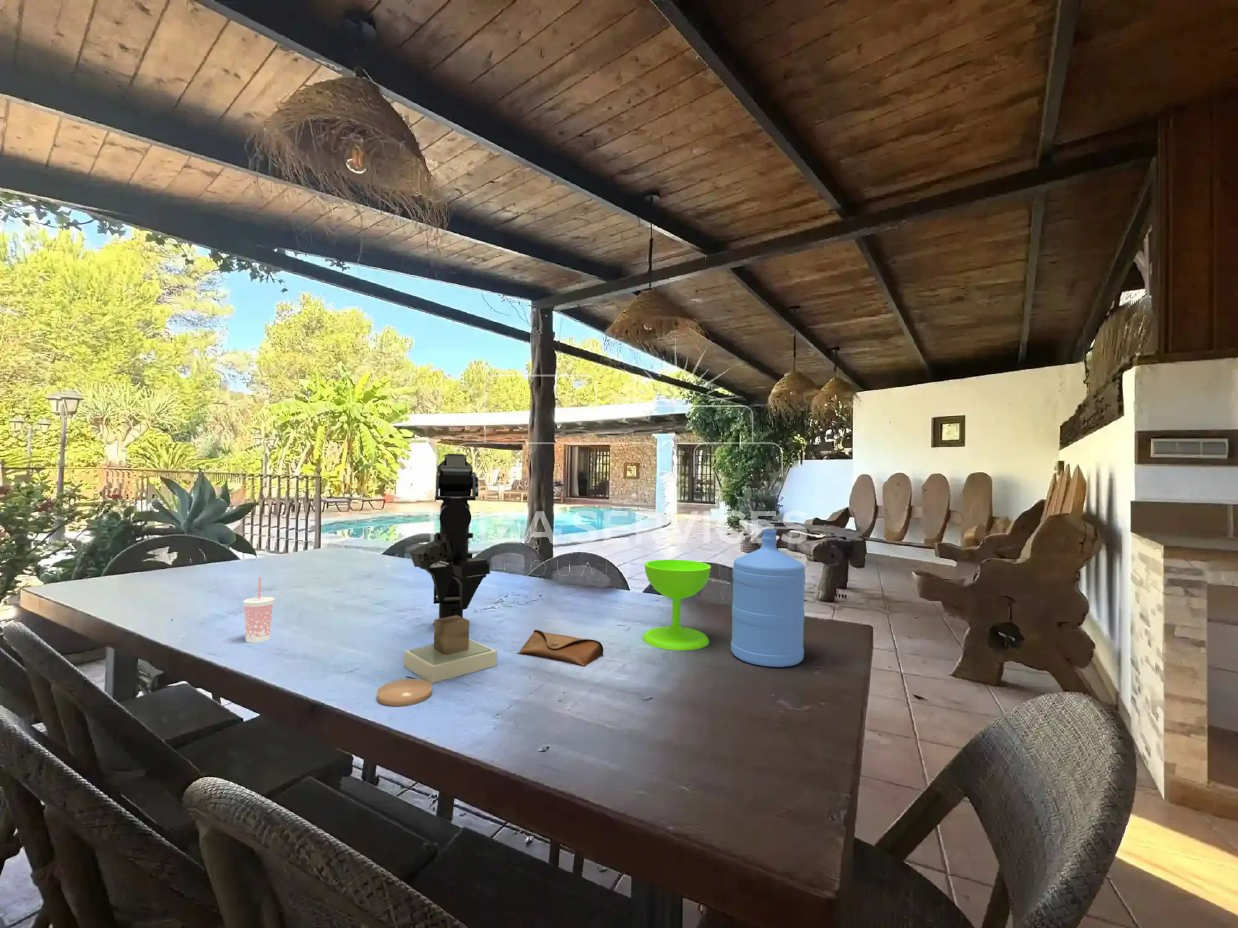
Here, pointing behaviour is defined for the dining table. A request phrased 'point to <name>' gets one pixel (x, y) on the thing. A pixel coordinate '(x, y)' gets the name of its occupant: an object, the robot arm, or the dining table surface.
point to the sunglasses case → (562, 648)
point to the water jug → (768, 606)
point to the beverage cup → (258, 617)
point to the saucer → (404, 692)
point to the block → (451, 635)
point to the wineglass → (676, 601)
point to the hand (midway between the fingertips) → (452, 604)
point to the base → (449, 661)
